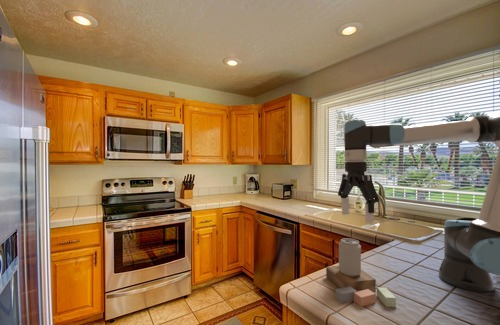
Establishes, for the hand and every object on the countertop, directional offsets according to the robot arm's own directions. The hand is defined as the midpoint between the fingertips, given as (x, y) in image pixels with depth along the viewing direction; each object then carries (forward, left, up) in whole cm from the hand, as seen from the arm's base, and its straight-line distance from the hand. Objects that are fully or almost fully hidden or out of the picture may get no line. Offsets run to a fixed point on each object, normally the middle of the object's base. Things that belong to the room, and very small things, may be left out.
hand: (356, 217), depth 88 cm
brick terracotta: (+6, +12, -24) cm, 28 cm away
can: (+4, +1, -20) cm, 20 cm away
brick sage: (-1, +13, -24) cm, 27 cm away
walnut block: (+4, +1, -24) cm, 24 cm away
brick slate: (+11, +10, -24) cm, 28 cm away
